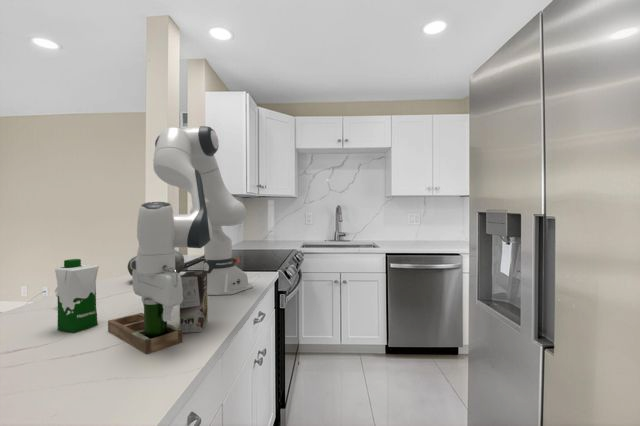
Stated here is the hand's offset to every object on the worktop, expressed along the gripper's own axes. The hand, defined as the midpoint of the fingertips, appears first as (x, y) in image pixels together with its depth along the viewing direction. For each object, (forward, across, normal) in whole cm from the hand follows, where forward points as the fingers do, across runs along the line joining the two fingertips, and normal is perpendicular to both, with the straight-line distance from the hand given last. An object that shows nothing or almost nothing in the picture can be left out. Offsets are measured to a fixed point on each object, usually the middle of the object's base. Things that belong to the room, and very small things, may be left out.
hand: (157, 316), depth 85 cm
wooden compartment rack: (+7, +8, 0) cm, 10 cm away
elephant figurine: (+7, +56, +3) cm, 57 cm away
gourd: (+8, +77, -36) cm, 85 cm away
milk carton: (+7, +30, +9) cm, 32 cm away
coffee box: (+7, +3, -12) cm, 15 cm away
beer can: (+7, 0, 0) cm, 7 cm away
